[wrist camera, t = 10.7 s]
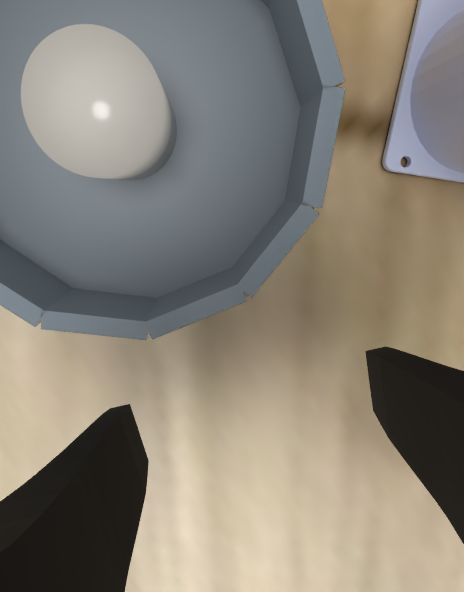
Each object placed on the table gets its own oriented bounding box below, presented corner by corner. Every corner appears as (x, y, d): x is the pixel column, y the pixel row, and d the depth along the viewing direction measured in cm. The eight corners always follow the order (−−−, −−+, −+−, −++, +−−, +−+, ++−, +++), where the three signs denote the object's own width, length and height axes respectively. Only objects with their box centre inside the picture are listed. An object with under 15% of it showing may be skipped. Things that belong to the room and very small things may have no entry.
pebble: (180, 79, 17) (168, 35, 12) (172, 185, 18) (159, 185, 13) (74, 64, 16) (18, 13, 11) (74, 174, 17) (22, 169, 13)
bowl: (340, -45, 17) (387, -127, 12) (275, 320, 21) (293, 355, 17) (-73, -130, 15) (-186, -257, 11) (-51, 283, 19) (-125, 311, 15)
